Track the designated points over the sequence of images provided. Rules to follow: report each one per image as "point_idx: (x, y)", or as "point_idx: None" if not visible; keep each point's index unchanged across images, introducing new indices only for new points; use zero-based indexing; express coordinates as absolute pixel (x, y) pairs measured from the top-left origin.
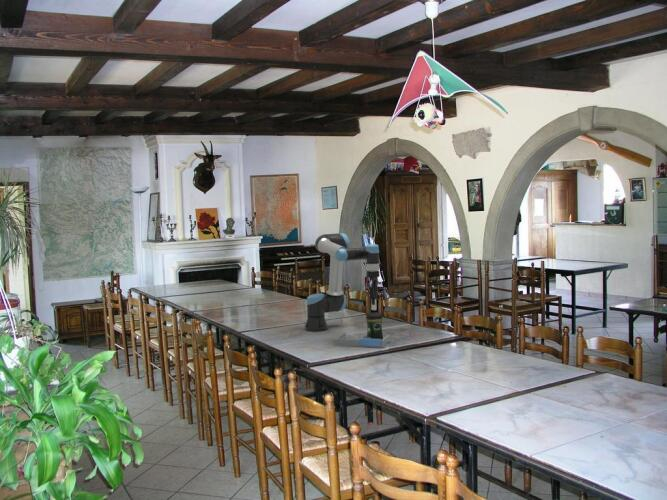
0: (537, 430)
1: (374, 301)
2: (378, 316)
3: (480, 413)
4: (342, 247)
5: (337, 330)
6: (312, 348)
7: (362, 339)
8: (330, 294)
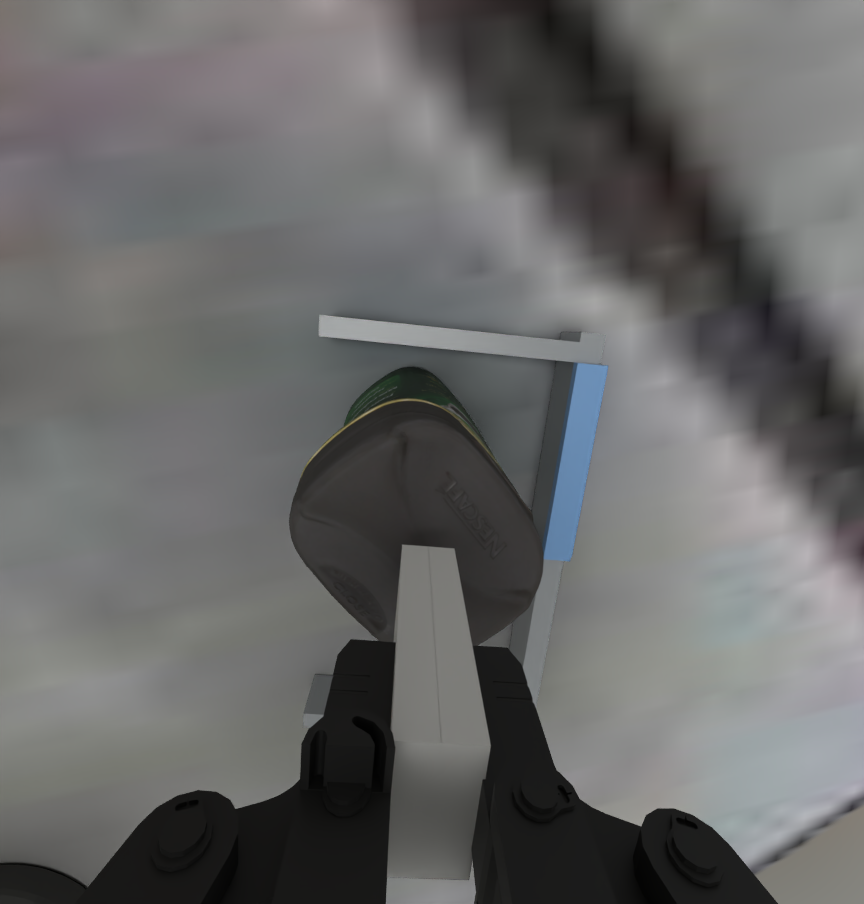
0: None
1: (494, 713)
2: (488, 457)
3: None
4: None
5: (18, 794)
6: (608, 801)
7: (574, 532)
8: None
